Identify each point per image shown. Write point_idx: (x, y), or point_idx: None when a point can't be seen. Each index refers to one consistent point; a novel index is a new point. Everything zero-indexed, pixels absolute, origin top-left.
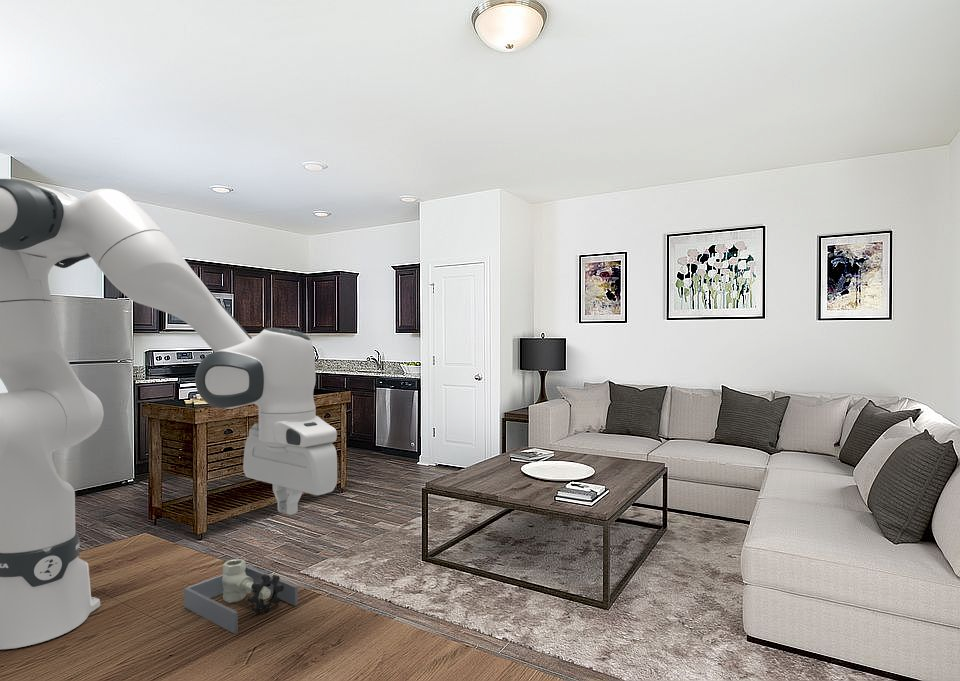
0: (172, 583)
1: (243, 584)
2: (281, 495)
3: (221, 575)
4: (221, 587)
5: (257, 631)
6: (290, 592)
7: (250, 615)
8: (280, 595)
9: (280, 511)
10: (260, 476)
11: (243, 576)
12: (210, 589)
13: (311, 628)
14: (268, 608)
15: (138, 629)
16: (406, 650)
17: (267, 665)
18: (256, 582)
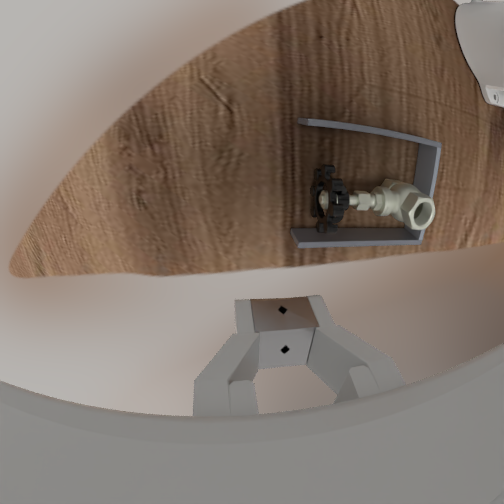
0: (472, 178)
1: (378, 195)
2: (333, 360)
3: None
4: None
5: (273, 142)
6: (307, 236)
7: None
8: None
9: (302, 297)
10: (493, 372)
11: (390, 205)
12: (422, 177)
13: (207, 200)
14: (312, 193)
15: (417, 69)
16: (69, 244)
17: (168, 96)
18: (387, 232)
